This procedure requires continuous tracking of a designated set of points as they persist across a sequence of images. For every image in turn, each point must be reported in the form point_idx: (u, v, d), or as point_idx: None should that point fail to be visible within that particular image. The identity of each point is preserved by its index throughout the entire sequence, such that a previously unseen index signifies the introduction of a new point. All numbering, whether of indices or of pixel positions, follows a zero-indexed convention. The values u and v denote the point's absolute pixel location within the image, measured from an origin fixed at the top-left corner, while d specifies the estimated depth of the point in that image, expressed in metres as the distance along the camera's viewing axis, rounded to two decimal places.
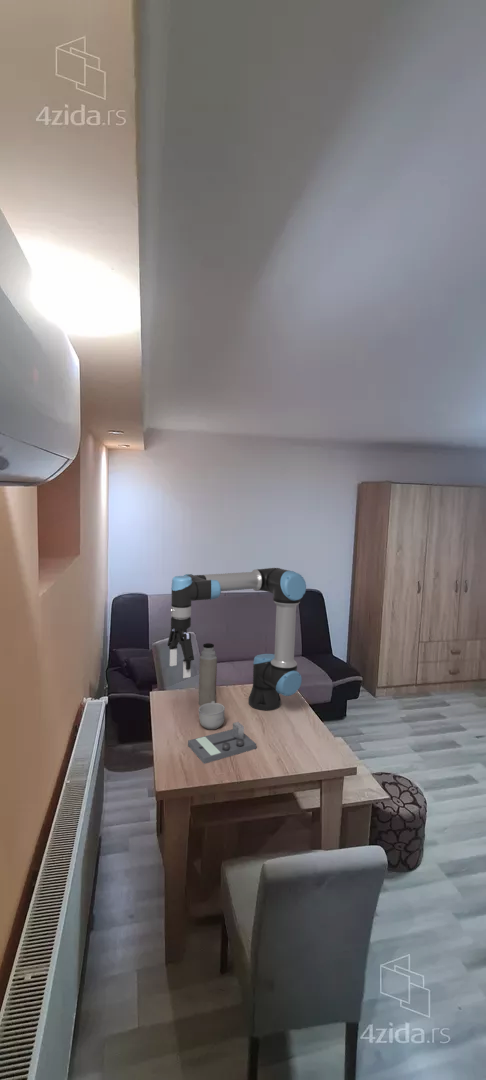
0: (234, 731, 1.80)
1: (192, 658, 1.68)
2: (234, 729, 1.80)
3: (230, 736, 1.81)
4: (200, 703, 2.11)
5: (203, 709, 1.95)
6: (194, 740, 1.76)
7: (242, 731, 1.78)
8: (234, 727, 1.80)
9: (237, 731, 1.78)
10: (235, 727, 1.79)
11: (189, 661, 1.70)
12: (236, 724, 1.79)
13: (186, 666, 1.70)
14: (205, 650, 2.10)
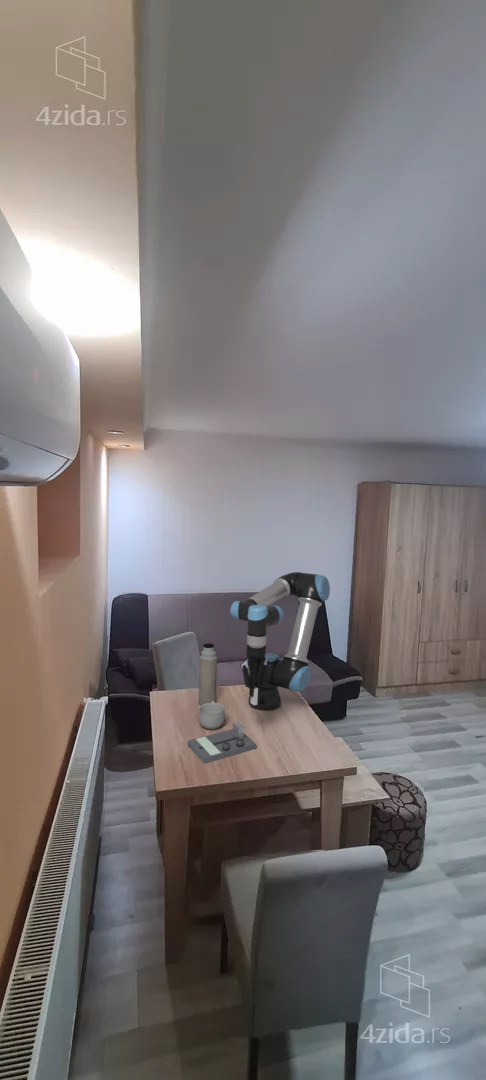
0: (234, 731, 1.80)
1: (247, 686, 1.79)
2: (234, 729, 1.80)
3: (230, 736, 1.81)
4: (200, 703, 2.11)
5: (203, 709, 1.95)
6: (194, 740, 1.76)
7: (242, 731, 1.78)
8: (234, 727, 1.80)
9: (237, 731, 1.78)
10: (235, 727, 1.79)
11: (250, 688, 1.80)
12: (236, 724, 1.79)
13: None
14: (205, 650, 2.10)
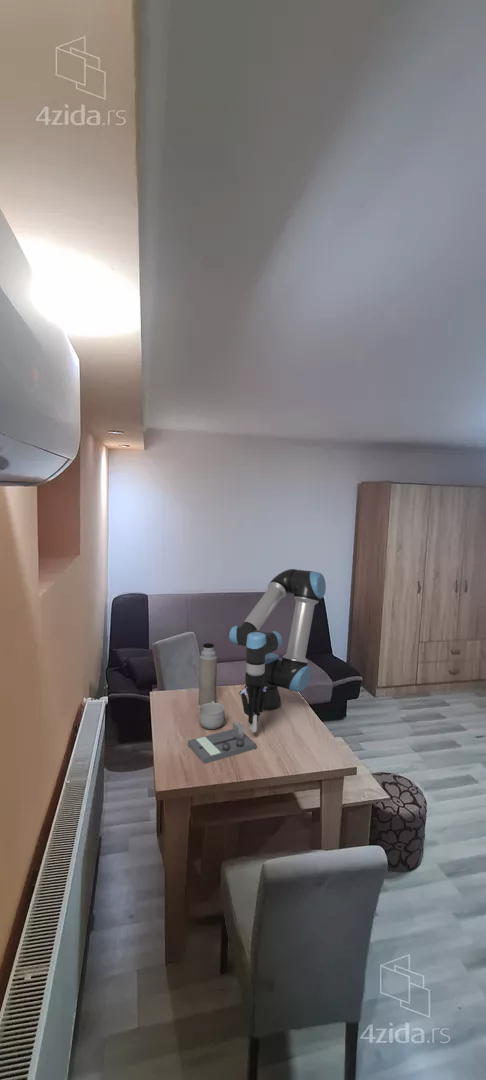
0: (234, 731, 1.80)
1: (246, 714, 1.80)
2: (234, 729, 1.80)
3: (230, 736, 1.81)
4: (200, 703, 2.11)
5: (203, 709, 1.95)
6: (194, 740, 1.76)
7: (242, 731, 1.78)
8: (234, 727, 1.80)
9: (237, 731, 1.78)
10: (235, 727, 1.79)
11: (249, 715, 1.81)
12: (236, 724, 1.79)
13: None
14: (205, 650, 2.10)
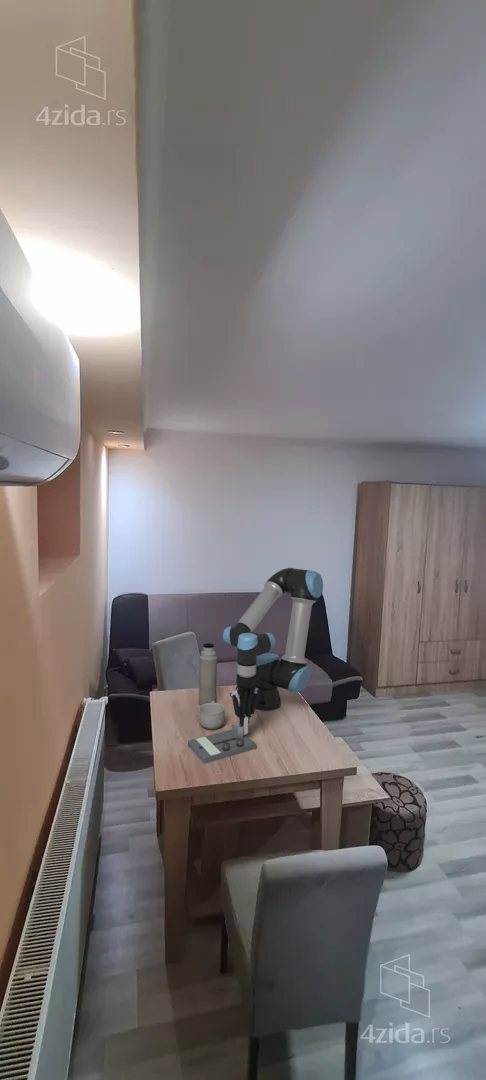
0: (233, 731, 1.79)
1: (237, 716, 1.78)
2: (233, 729, 1.79)
3: (230, 736, 1.81)
4: (200, 703, 2.11)
5: (203, 709, 1.95)
6: (194, 740, 1.76)
7: (241, 731, 1.78)
8: (233, 727, 1.79)
9: (236, 731, 1.77)
10: (234, 727, 1.79)
11: (240, 717, 1.79)
12: (235, 724, 1.79)
13: None
14: (205, 650, 2.10)
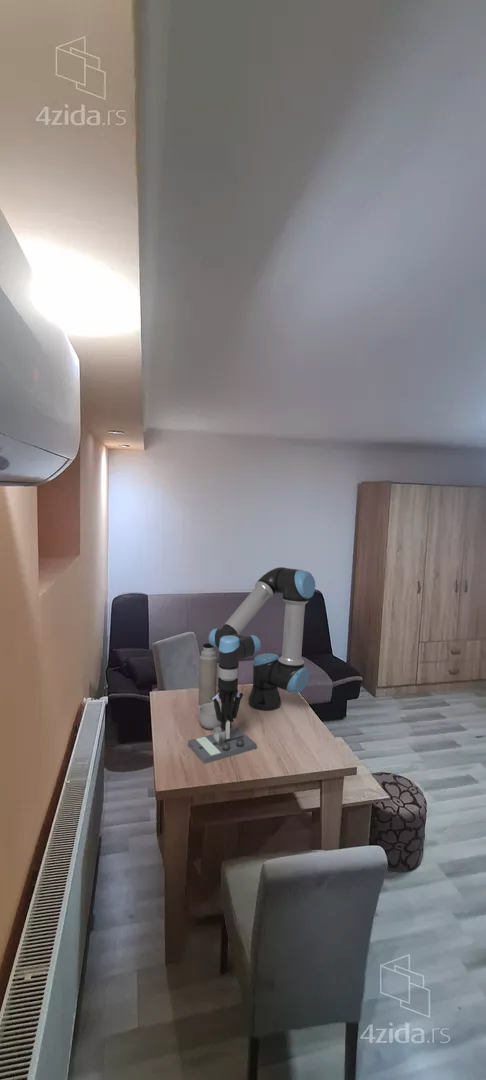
0: (215, 736, 1.75)
1: (219, 720, 1.74)
2: (215, 734, 1.75)
3: (230, 736, 1.81)
4: (200, 703, 2.11)
5: (203, 709, 1.95)
6: (194, 740, 1.76)
7: (223, 736, 1.74)
8: (215, 732, 1.75)
9: (218, 736, 1.73)
10: (216, 732, 1.75)
11: (222, 722, 1.75)
12: (217, 729, 1.75)
13: None
14: (205, 650, 2.10)
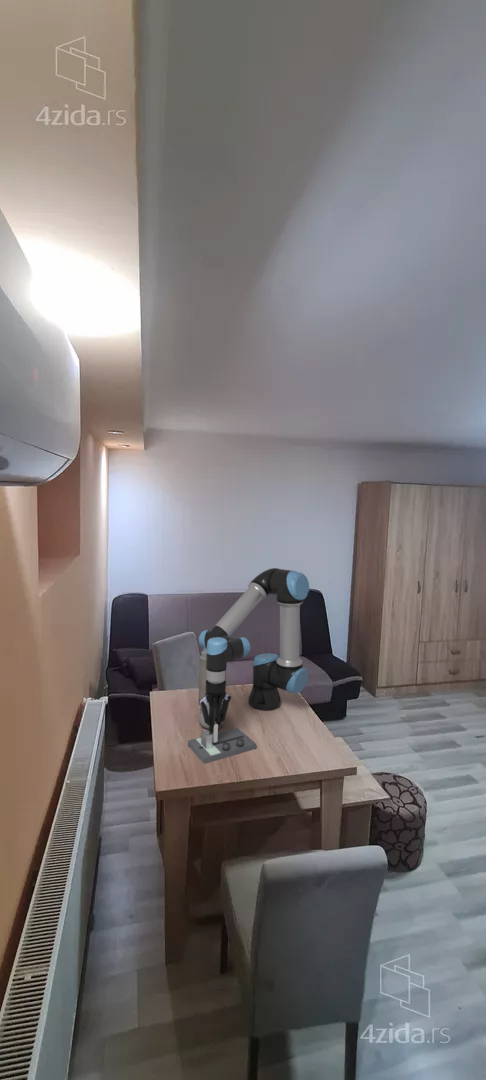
0: (202, 739, 1.73)
1: (206, 723, 1.71)
2: (202, 737, 1.73)
3: (230, 736, 1.81)
4: None
5: None
6: (194, 740, 1.76)
7: (210, 739, 1.71)
8: (202, 735, 1.73)
9: (205, 739, 1.71)
10: (203, 735, 1.72)
11: (210, 725, 1.73)
12: (205, 732, 1.73)
13: None
14: (205, 650, 2.10)
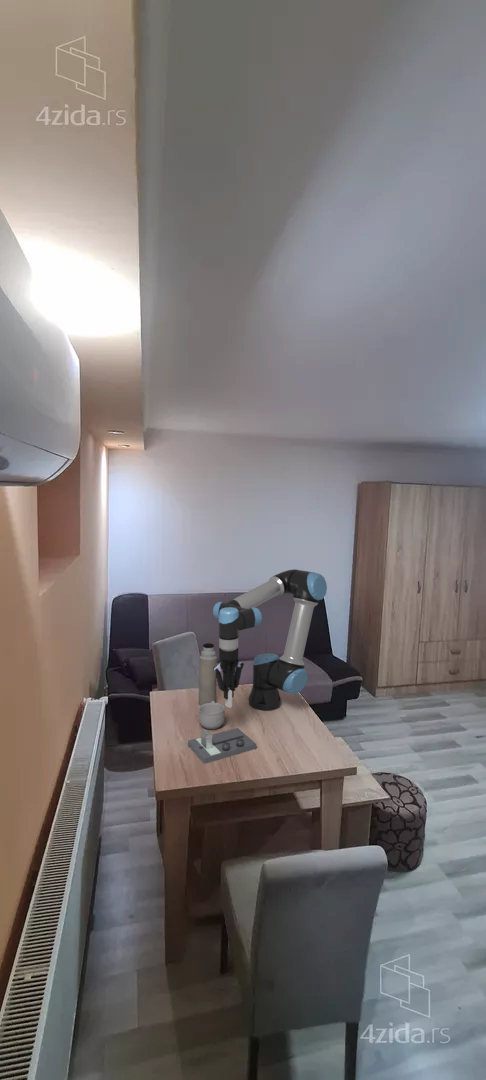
0: (202, 739, 1.73)
1: (221, 689, 1.78)
2: (202, 737, 1.73)
3: (230, 736, 1.81)
4: (200, 703, 2.11)
5: (203, 709, 1.95)
6: (194, 740, 1.76)
7: (210, 739, 1.71)
8: (202, 735, 1.73)
9: (205, 739, 1.71)
10: (203, 735, 1.72)
11: (224, 691, 1.80)
12: (204, 732, 1.73)
13: None
14: (205, 650, 2.10)
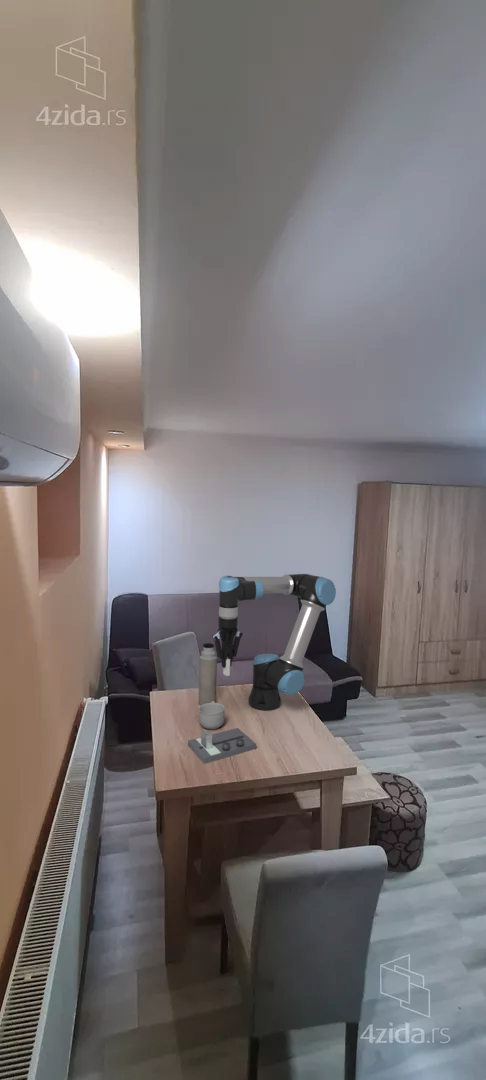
0: (202, 739, 1.73)
1: (219, 657, 1.82)
2: (202, 737, 1.73)
3: (230, 736, 1.81)
4: (200, 703, 2.11)
5: (203, 709, 1.95)
6: (194, 740, 1.76)
7: (210, 739, 1.71)
8: (202, 735, 1.73)
9: (205, 739, 1.71)
10: (203, 735, 1.72)
11: (222, 659, 1.83)
12: (204, 732, 1.73)
13: None
14: (205, 650, 2.10)
